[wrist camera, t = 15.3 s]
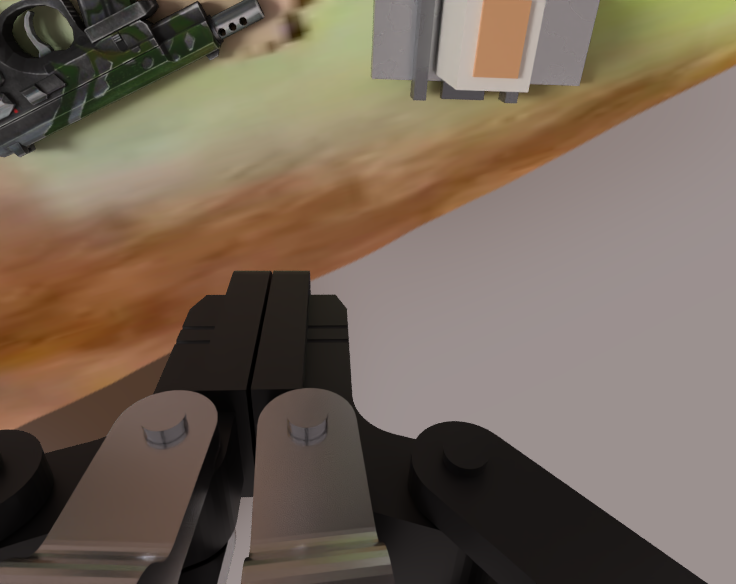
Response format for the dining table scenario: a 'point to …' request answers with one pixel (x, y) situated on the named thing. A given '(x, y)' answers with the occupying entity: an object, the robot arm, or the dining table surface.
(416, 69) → the rail panel
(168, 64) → the pistol
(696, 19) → the dining table surface
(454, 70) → the block
